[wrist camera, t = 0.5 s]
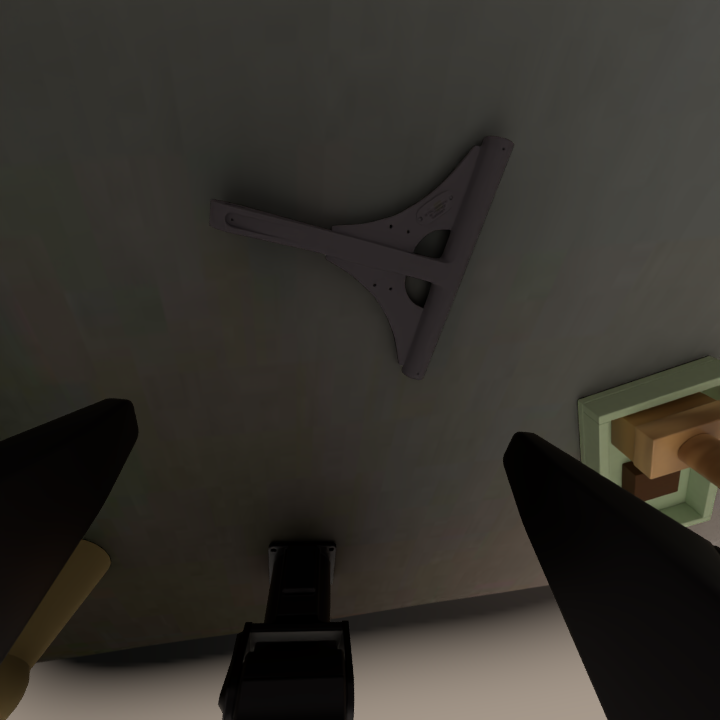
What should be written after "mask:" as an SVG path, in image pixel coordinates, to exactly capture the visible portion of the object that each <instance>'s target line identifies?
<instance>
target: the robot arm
mask: <svg viewBox="0 0 720 720" xmlns="http://www.w3.org/2000/svg"><path fill="white" fill-rule="evenodd" d="M137 437H138V425H137V420H136V415H135V411H134V406H133V404H132V402H131V401H129V400H127V399H115V398H109V399H105V400H102V401H100V402H97V403H95V404H92V405H90V406H87V407H85V408H82V409H80V410H77V411H75V412H72V413H70V414H67V415H65V416H62V417H60V418H57V419H55V420H52V421H50V422H47V423H45V424H42V425H40V426H37V427H35V428H32V429H30V430H27V431H25V432H22V433H20V434H17V435H15V436H12V437H10V438H7V439H5V440H2V441H0V665H1V663H2V662H3V660H4V659H5V657H6V656H7V654H8V652H9V651H10V649H11V648H12V646H13V645H14V643H15V642H16V640H17V639H18V637H19V635H20V634H21V632H22V631H23V629H24V628H25V626H26V625H27V623H28V621H29V620H30V618H31V617H32V615H33V614H34V612H35V611H36V609H37V608H38V606H39V604H40V603H41V601H42V600H43V598H44V597H45V595H46V594H47V592H48V590H49V589H50V587H51V586H52V584H53V583H54V581H55V580H56V578H57V577H58V575H59V573H60V572H61V570H62V569H63V567H64V566H65V564H66V563H67V561H68V559H69V558H70V556H71V555H72V553H73V552H74V550H75V549H76V547H77V546H78V544H79V542H80V541H81V539H82V538H83V536H84V535H85V533H86V532H87V530H88V529H89V527H90V525H91V524H92V522H93V521H94V519H95V518H96V516H97V514H98V513H99V511H100V510H101V508H102V506H103V505H104V503H105V501H106V499H107V497H108V495H109V493H110V492H111V490H112V488H113V486H114V484H115V482H116V480H117V478H118V476H119V474H120V472H121V470H122V468H123V466H124V464H125V462H126V460H127V458H128V456H129V454H130V452H131V450H132V448H133V446H134V444H135V442H136V440H137ZM503 464H504V468H505V471H506V474H507V477H508V480H509V483H510V486H511V489H512V492H513V495H514V498H515V501H516V505H517V508H518V511H519V514H520V517H521V519H522V522H523V525H524V527H525V530H526V532H527V535H528V537H529V539H530V541H531V544H532V546H533V548H534V551H535V553H536V555H537V558H538V560H539V562H540V565H541V567H542V569H543V572H544V574H545V576H546V578H547V581H548V583H549V585H550V588H551V590H552V592H553V595H554V597H555V599H556V602H557V604H558V606H559V608H560V611H561V613H562V615H563V618H564V620H565V622H566V625H567V627H568V629H569V631H570V634H571V636H572V638H573V641H574V643H575V645H576V648H577V650H578V652H579V655H580V657H581V659H582V662H583V664H584V666H585V669H586V671H587V673H588V676H589V678H590V680H591V682H592V685H593V687H594V689H595V692H596V694H597V696H598V698H599V701H600V703H601V706H602V708H603V710H604V713H605V715H606V717H607V719H608V720H720V548H719V547H717V546H713V545H712V543H711V542H709V541H708V540H706V539H704V538H703V537H701V536H700V535H698V534H696V533H695V532H693V531H691V530H690V529H688V528H687V527H685V526H683V525H682V524H680V523H679V522H677V521H675V520H674V519H672V518H670V517H669V516H667V515H666V514H664V513H662V512H661V511H659V510H657V509H656V508H654V507H653V506H651V505H649V504H648V503H646V502H645V501H643V500H641V499H640V498H638V497H636V496H635V495H633V494H632V493H630V492H628V491H627V490H625V489H624V488H622V487H620V486H619V485H617V484H615V483H614V482H612V481H611V480H609V479H607V478H606V477H604V476H602V475H601V474H599V473H598V472H596V471H594V470H593V469H591V468H590V467H588V466H586V465H585V464H583V463H581V462H580V461H578V460H577V459H575V458H573V457H572V456H570V455H569V454H567V453H565V452H564V451H562V450H560V449H559V448H557V447H556V446H554V445H552V444H551V443H549V442H547V441H546V440H544V439H543V438H541V437H539V436H538V435H536V434H534V433H530V432H517V433H515V434H514V435H513V437H512V439H511V441H510V443H509V445H508V447H507V450H506V452H505V454H504V457H503ZM268 555H269V582H270V589H269V595H268V602H267V608H266V614H265V620H264V623H252V622H246V623H245V626H244V630H243V632H241V633H239V634H237V638H236V643H235V647H234V652H233V656H232V660H231V663H230V666H229V669H228V672H227V675H226V678H225V681H224V684H223V687H222V690H221V693H220V697H219V703H218V705H219V707H220V709H221V711H222V713H223V718H222V720H353V717H354V676H353V664H352V654H351V643H350V634H349V623H348V621H342V622H330V585H331V584H332V583H333V575H334V566H335V556H336V544H335V543H334V542H298V543H271V544H270V545H269V549H268Z"/></svg>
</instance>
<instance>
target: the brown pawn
mask: <svg viewBox="0 0 720 720" xmlns="http://www.w3.org/2000/svg"><path fill="white" fill-rule="evenodd" d="M110 564H111V561H110V557H109V555H108V554H107V553H106V552H105V551H104V550H103V549H102V548H100V547H99V546H97V545H96V544H94V543H91V542H89V541H86V540H82V539H81V541H80V542H79V544H78V546H77V547H76V549H75V550H74V552H73V553H72V555H71V556H70V558H69V559H68V561H67V563H66V564H65V566H64V567H63V569H62V570H61V572H60V573H59V575H58V577H57V578H56V580H55V581H54V583H53V584H52V586H51V587H50V589H49V590H48V592H47V594H46V595H45V597H44V598H43V600H42V601H41V603H40V604H39V606H38V608H37V609H36V611H35V612H34V614H33V615H32V617H31V618H30V620H29V621H28V623H27V625H26V626H25V628H24V629H23V631H22V632H21V634H20V635H19V637H18V639H17V640H16V642H15V643H14V645H13V646H12V648H11V649H10V651H9V652H8V654H7V656H6V657H5V659H4V660H3V662H2V663H1V665H0V720H6V719H7V718H8V716H9V715H10V714H11V713H12V712H13V711H14V709H15V708H16V707H17V705H18V704H19V702H20V700H21V699H22V697H23V695H24V693H25V691H26V688H27V686H28V683H29V673H30V669H31V668H32V667H33V666H34V664H35V663H36V662H37V661H38V659H39V658H40V657H41V655H42V654H43V653H44V652H45V650H46V649H47V648H48V646H49V645H50V644H51V643H52V641H53V640H54V639H55V637H56V636H57V635H58V633H59V632H60V631H61V630H62V628H63V627H64V626H65V624H66V623H67V622H68V621H69V619H70V618H71V617H72V615H73V614H74V613H75V612H76V610H77V609H78V608H79V606H80V605H81V604H82V602H83V601H84V600H85V599H86V597H87V596H88V595H89V593H90V592H91V591H92V590H93V588H94V587H95V586H96V584H97V583H98V582H99V581H100V579H101V578H102V577H103V575H104V574H105V573H106V572H107V570H108V569H109V567H110Z"/></svg>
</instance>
